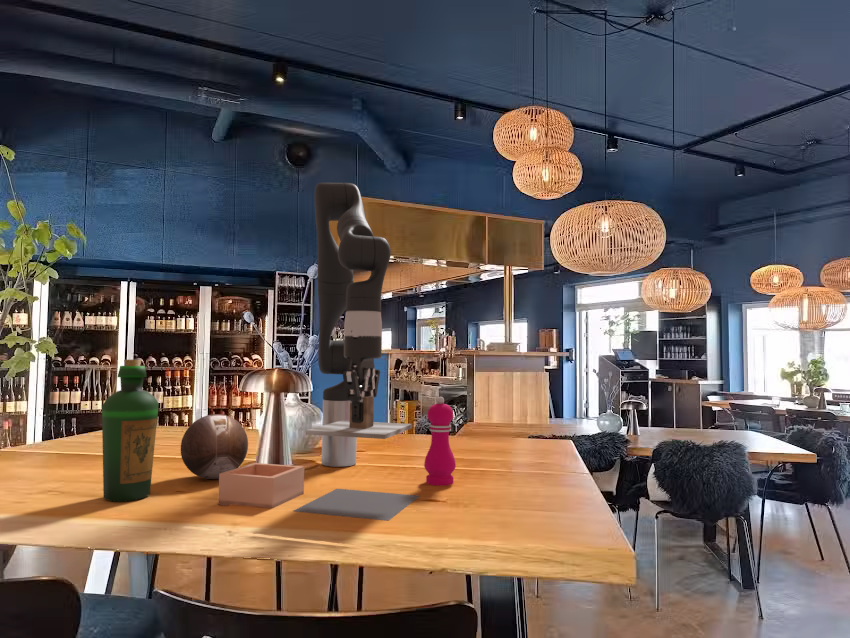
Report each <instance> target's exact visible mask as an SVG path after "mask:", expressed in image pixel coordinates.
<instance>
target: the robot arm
mask: <svg viewBox="0 0 850 638" xmlns="http://www.w3.org/2000/svg"><path fill="white" fill-rule="evenodd" d="M313 198H314V200H313V201H314V214H315V224H316V227H315V228H316V237H317V238H316V240H317V297H318V314H319V315H318V316H319V317H318V319H319V326H318V347H317V349H318V352H317V353H318V355H317V361H318V362H317V363H318V368H319V371H320V373H322V374H324V375H342V381H340V382H339V383H337V384H335V385H332V386H329V387H327V388H324V389H323V392H322V422H321V423H322V424H321V426H323V425H327V424H331V423H334V422H338V421H350V403H352V422H354V423H361V422H363V405H364V404H363V402H364V396H374V398H377V397H378V396H377V395H378V388H379V382H380V374H381V370H380V369H377V368H376V369H375V360H374V359H381V357H382V354H383V353H382V351H383V350H382V349H383V348H382V345H383V343H382V342H383V341H382V340H383V338H382V336H383V335H382V334H383V321H382V320H383V319H382V290H383V284H384V280H385V276H386V273H387V270H388V266H389V263H390V259H391V253H392V251H391V246H390V244H389V242H388V240H387V239H386V238H385V237H381V236H374V233H373V231H372V229H371V227H370V225H369V223H368V221H367V219H366V215H365V214H366V213H365V209H364V203H363V200H362V199H363V198H362V195H361V192H360V190H359V187H358V186H357V185H356V184H354V183H353V182H352V183H350V182H318V183H317V184H316V186H315V188H314V197H313ZM330 221H331V222H337V224H336V232H337V236H338V238H339V240H340V242H339V245H338V244H337V242H336V240H335V238H334V236H333V234H332V232H331V228H330ZM354 271H361V272H362V271H363V272H370V276H369V278H368V279H366V280H360V281H355V279H354ZM344 312H345V318H344V322H343V324H344V325H343V327H344V328H343V329H344V330H343V334H344V335H343V339H342V340H339V339H335V340H334V339H333V340H332V339H331V337H332V334H333V332H334V329H335V327H336V325H337V323H338V321H339V319H340V318H341V316H342V315H343V314H344ZM357 438H358V437H342V436H325V435H321V465H323V466H326V467H331V468H334V467H336V468H337V467H339V468H340V467H350V466H354V465H356V464H357Z"/></svg>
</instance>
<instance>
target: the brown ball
mask: <svg viewBox="0 0 850 638" xmlns="http://www.w3.org/2000/svg"><path fill="white" fill-rule="evenodd" d="M247 435H248V434H247V432H246V430H245V428H244V426H243V425H242V424H241V423H240V422H239V421H238V420H236V419H235V418H233V417H232V416H228V415H226V414H220V413H217V414H216V413H215V414H214V413H213V414H208V415H205V416H202V417H200V418H198V419H196V420H195V421H194V422H192V423H191V424H190V425H189V426H188V428H186V430H185V432H184V434H183V436H182V439H181V442H180V456H181V459H182V462H183V464H184V466H185V467H186V468H187V469H188V471H190V473H192V474H193V475H195V476H197V477H199V478H201V479H206V480H219V474H220V473H223V472H227V471H230V470H233V469H236V468H239V467H241V465H242V464H243V463H244V461H245V459H246V457H247V454H248V450H249V438H248V436H247Z"/></svg>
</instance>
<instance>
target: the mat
mask: <svg viewBox="0 0 850 638" xmlns="http://www.w3.org/2000/svg"><path fill="white" fill-rule="evenodd" d="M420 497H421V495H418V494H406V493H405V494H404V493H403V494H402V493H396V492H395V493H394V492H381V491H380V492H379V491H369V490H368V491H367V490H358V489H357V490H356V489H347V488H346V489H345V488H335V489H333V490H332V491H329V492H327V493H325V494H323V495H321V496H319V497H318V498H316V499H314V500H312V501H309V502H308V503H305V504H304V505H302V506H300V507H299V506H298V507H297V508H295V509H294V510H293V512H297V513H307V514H316V515H324V516H325V515H326V516H327V515H328V516H337V517H344V518H345V517H347V518H356V519H366V520H367V519H368V520H375V521H376V520H377V521H386V522H388V521H391V519H393V518H394V517H395V516H397V515H398V514H399V513H401V512H402V511H403V510H405V509H406V508H407V507H408V506H409V505H411V504H412V503H413V502H414V501H416V500H417V499H418V498H420Z"/></svg>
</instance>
